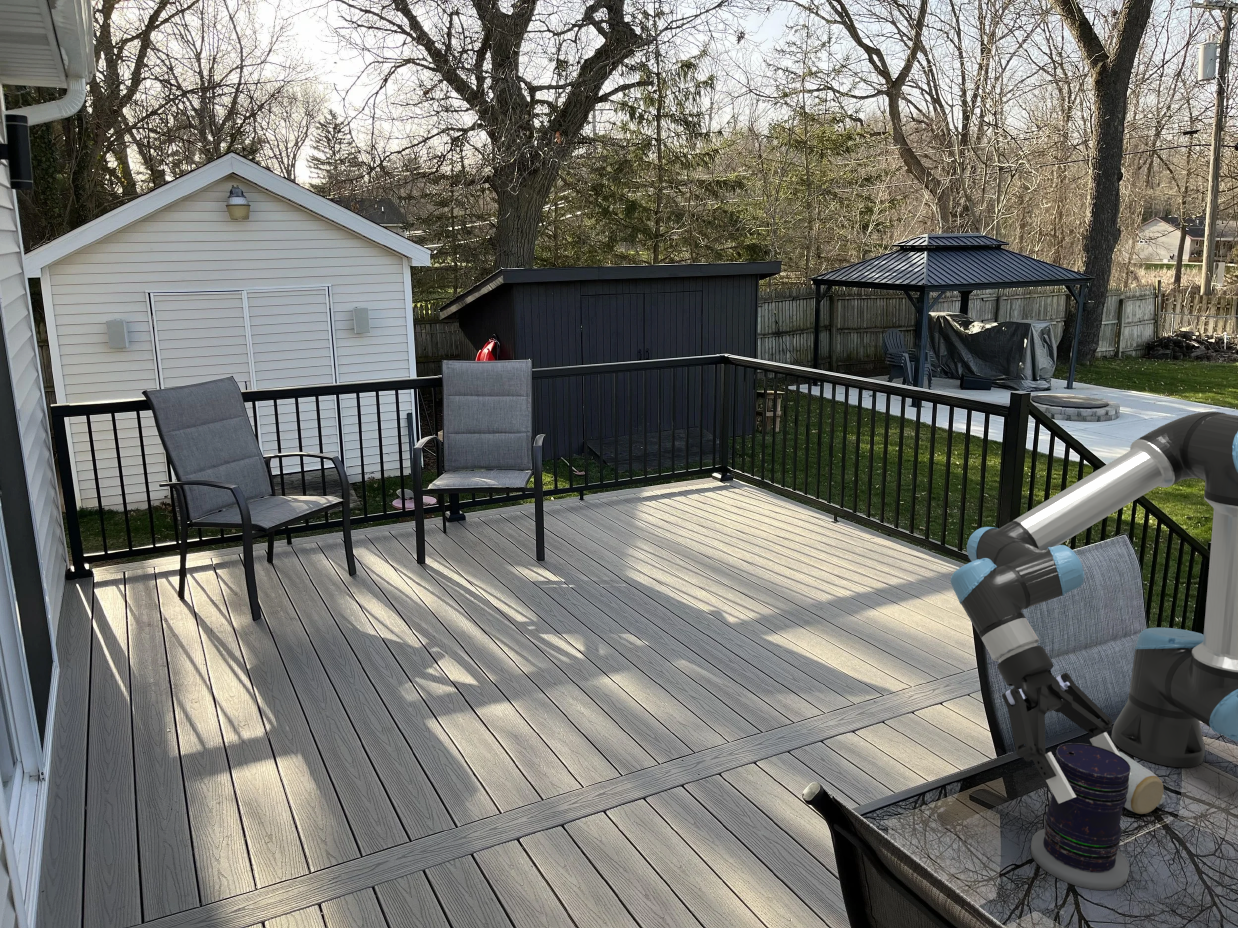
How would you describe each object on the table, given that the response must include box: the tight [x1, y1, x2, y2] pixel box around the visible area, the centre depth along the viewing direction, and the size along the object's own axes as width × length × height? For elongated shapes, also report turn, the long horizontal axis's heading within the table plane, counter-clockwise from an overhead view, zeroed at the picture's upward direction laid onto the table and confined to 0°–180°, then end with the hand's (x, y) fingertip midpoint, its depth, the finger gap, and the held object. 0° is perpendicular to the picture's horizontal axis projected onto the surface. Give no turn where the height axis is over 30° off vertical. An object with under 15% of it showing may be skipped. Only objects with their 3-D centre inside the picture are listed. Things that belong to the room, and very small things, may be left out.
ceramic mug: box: [1118, 750, 1166, 815], centre depth 153 cm, size 11×8×8 cm
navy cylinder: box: [1043, 742, 1131, 872], centre depth 135 cm, size 10×10×15 cm
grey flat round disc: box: [1030, 828, 1130, 891], centre depth 136 cm, size 13×13×2 cm
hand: (1096, 788), depth 133 cm, fingers open, 13 cm apart
